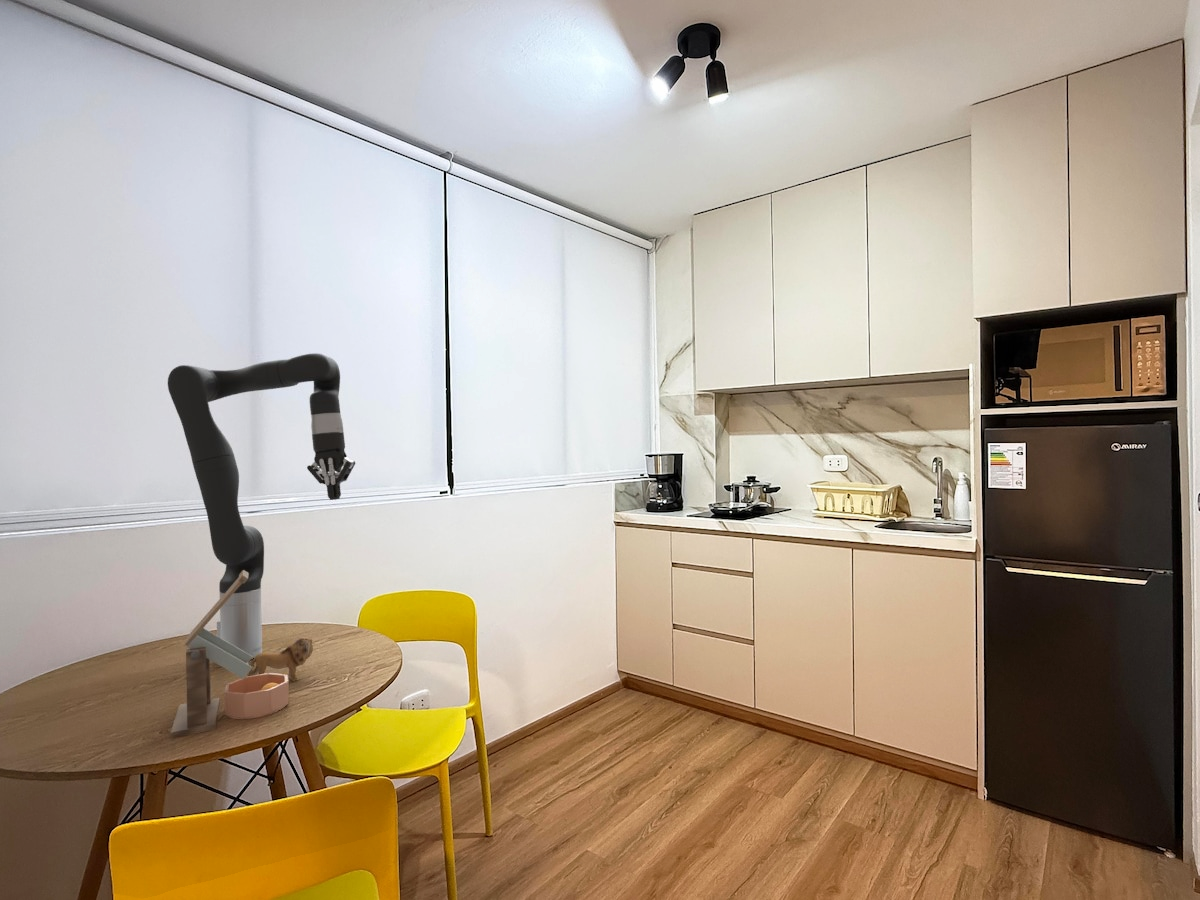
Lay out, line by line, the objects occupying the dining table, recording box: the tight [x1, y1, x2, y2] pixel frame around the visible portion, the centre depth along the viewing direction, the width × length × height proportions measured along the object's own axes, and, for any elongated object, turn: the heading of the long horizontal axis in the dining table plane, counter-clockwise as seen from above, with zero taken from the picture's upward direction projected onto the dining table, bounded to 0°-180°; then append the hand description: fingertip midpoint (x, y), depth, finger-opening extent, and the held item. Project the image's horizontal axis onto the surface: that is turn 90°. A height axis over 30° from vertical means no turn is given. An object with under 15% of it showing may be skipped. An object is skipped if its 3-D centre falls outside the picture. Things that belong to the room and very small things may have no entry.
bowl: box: [224, 672, 290, 720], centre depth 129 cm, size 11×11×5 cm
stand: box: [170, 647, 221, 739], centre depth 124 cm, size 7×15×15 cm, turn 28°
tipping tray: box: [184, 570, 254, 679], centre depth 128 cm, size 13×8×16 cm
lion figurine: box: [247, 636, 314, 681], centre depth 145 cm, size 15×5×9 cm, turn 118°
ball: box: [261, 683, 278, 690], centre depth 130 cm, size 4×4×4 cm
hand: (334, 499), depth 163 cm, fingers closed
